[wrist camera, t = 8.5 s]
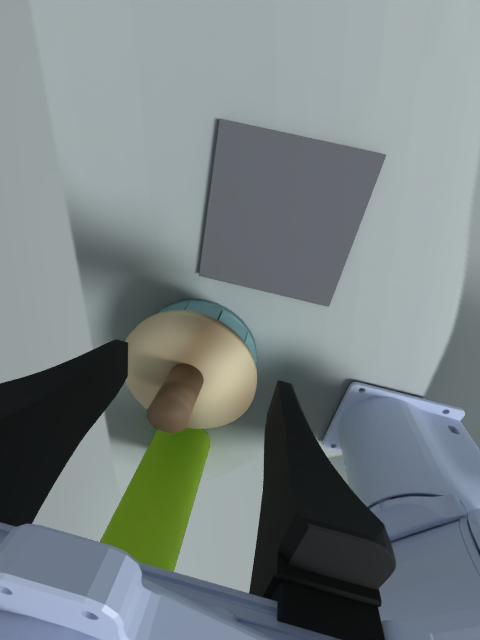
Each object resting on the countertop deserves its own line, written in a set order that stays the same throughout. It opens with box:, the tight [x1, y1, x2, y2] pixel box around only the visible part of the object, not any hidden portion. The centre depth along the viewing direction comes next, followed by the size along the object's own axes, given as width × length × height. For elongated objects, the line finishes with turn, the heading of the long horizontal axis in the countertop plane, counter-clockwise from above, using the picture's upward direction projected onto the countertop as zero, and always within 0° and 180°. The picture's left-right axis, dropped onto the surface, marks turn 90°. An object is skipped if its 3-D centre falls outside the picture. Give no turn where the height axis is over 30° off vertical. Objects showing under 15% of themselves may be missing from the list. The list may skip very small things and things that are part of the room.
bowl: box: [158, 299, 258, 365], centre depth 24 cm, size 10×10×4 cm
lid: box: [125, 310, 257, 433], centre depth 20 cm, size 10×10×5 cm
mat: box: [199, 119, 386, 307], centre depth 20 cm, size 10×10×1 cm
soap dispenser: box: [100, 427, 210, 572], centre depth 23 cm, size 6×7×20 cm
